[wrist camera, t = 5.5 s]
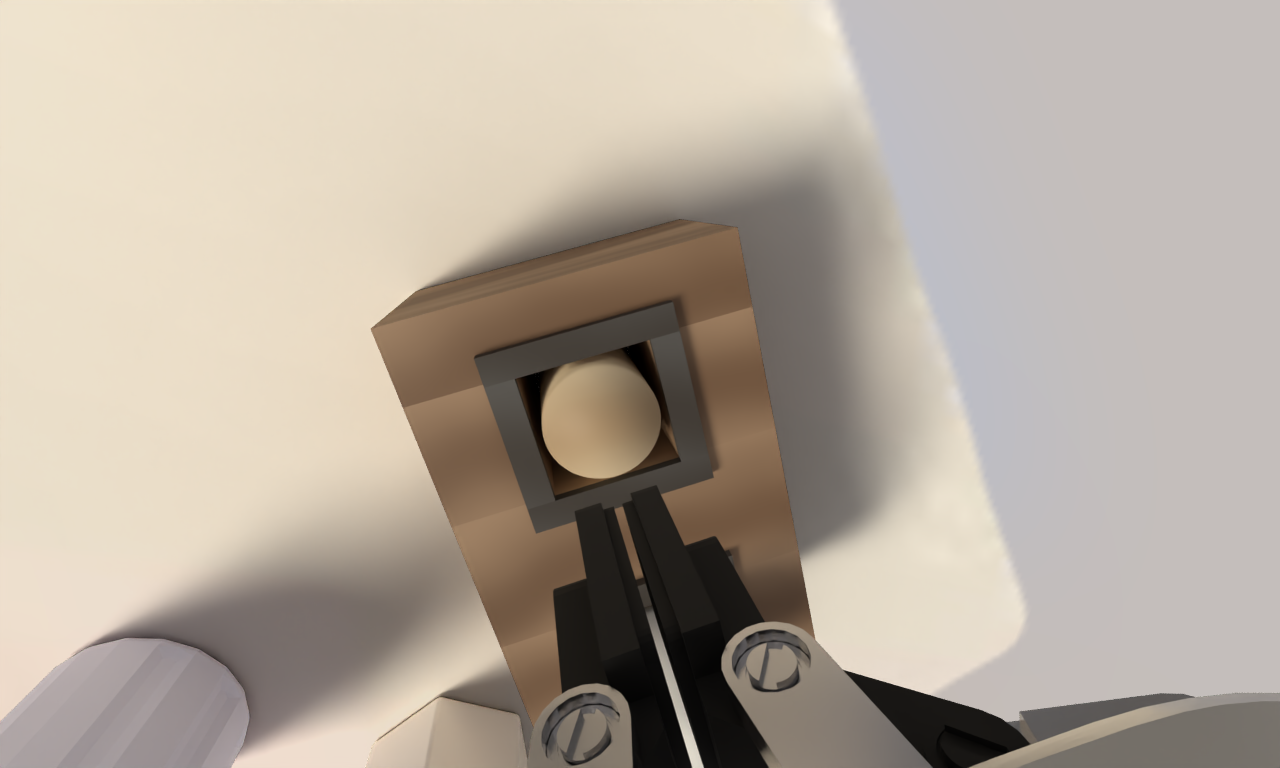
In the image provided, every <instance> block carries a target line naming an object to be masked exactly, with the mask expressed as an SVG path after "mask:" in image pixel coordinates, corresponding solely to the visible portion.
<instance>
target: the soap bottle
mask: <svg viewBox="0 0 1280 768" xmlns="http://www.w3.org/2000/svg"><path fill="white" fill-rule="evenodd" d="M249 720H250V714H249V710H248V705H247V701H246V697H245V692H244V689H243V688H242V686H241V685H240V684H239V682H238V681H237V680H236V678H235V677H234V676H233V675H232V673H231V672H230V671H229V669H228V668H227V667H226V666H225V665H223V664H221V663H220V662H218V661H217V660H215V659H214V658H212V657H211V656H209V655H207V654H206V653H204V652H203V651H201V650H200V649H197V648H194V647H190V646H187V645H183V644H180V643H176V642H173V641H170V640H166V639H149V638H124V639H120V640H116V641H112V642H108V643H103V644H99V645H95V646H91V647H89V648H86V649H84V650H83V651H81V652H79V653H78V654H76V655H74V656H73V657H71V658H69V659H68V660H66V661H64V662H63V663H61V664H59V665H58V666H56V667H55V668H54V669H53V670H52V671H51V672H50V673H49V674H48V675H47V676H46V677H45V678H44V679H43V680H42V681H41V682H40V683H39V684H38V685H37V686H36V687H35V688H34V689H33V690H32V691H31V692H30V693H29V694H28V695H27V696H26V697H25V698H24V699H23V700H22V701H21V702H20V703H19V704H18V705H17V706H16V707H15V708H14V709H13V710H12V711H11V712H10V713H8V714H7V715H6V716H5V717H4V718H3V719H2V720H1V721H0V768H231V766H232V764H233V763H234V761H235V759H236V757H237V755H238V753H239V751H240V749H241V747H242V745H243V743H244V739H245V735H246V731H247V727H248V723H249Z"/></svg>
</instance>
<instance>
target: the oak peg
mask: <svg viewBox="0 0 1280 768" xmlns="http://www.w3.org/2000/svg"><path fill="white" fill-rule="evenodd" d="M539 385H540V402H541V419H542V432H543V437H544V441H545V444H546V446H547V449H548V450H549V452H550V454H551V455H552V456H553V458H554V459H555V460H556V461H557V462H558V463H559V464H560V465H561V466H563V467H564V468H565V469H567V470H568V471H570V472H572V473H574V474H577V475H579V476H583V477H587V478H610V477H614V476H618V475H621V474H623V473H626V472H628V471H630V470H632V469H633V468H634V467H636V466H637V465H639V464H640V463H641V462H642V461H643V460H644V459H645V458H646V457H647V456H648V455H649V453H650V452H651V450H652V449H653V447H654V445H655V443H656V441H657V438H658V436H659V432H660V426H661V413H660V408H659V404H658V401H657V399H656V397H655V395H654V393H653V391H652V390H651V388H650V387H649V385H648V384H647V382H646V381H645V379H644V377H643V376H642V374H641V373H640V371H639V370H638V368H637V366H636V365H635V363H634V362H633V360H632V359H631V357H630V356H629V354H628V352H627V351H626V349H625V348H624V347H623V348H620V349H616V350H613V351H609V352H606V353H602V354H599V355H595V356H592V357H589V358H585V359H582V360H578V361H575V362H571V363H568V364H564V365H561V366H558V367H554V368H551V369H547V370H544V371H540V372H539Z"/></svg>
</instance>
